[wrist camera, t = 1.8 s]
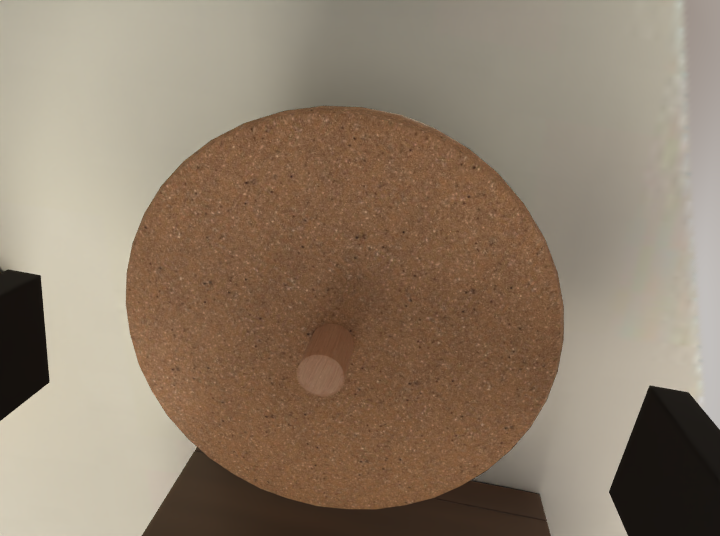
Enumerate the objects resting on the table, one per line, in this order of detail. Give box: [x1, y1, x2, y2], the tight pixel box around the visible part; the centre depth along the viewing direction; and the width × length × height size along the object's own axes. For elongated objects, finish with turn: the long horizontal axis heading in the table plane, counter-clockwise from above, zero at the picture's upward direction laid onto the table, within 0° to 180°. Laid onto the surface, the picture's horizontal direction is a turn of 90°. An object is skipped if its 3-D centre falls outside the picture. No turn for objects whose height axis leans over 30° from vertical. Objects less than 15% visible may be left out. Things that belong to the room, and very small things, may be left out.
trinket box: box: [126, 106, 564, 509], centre depth 15 cm, size 11×11×9 cm
